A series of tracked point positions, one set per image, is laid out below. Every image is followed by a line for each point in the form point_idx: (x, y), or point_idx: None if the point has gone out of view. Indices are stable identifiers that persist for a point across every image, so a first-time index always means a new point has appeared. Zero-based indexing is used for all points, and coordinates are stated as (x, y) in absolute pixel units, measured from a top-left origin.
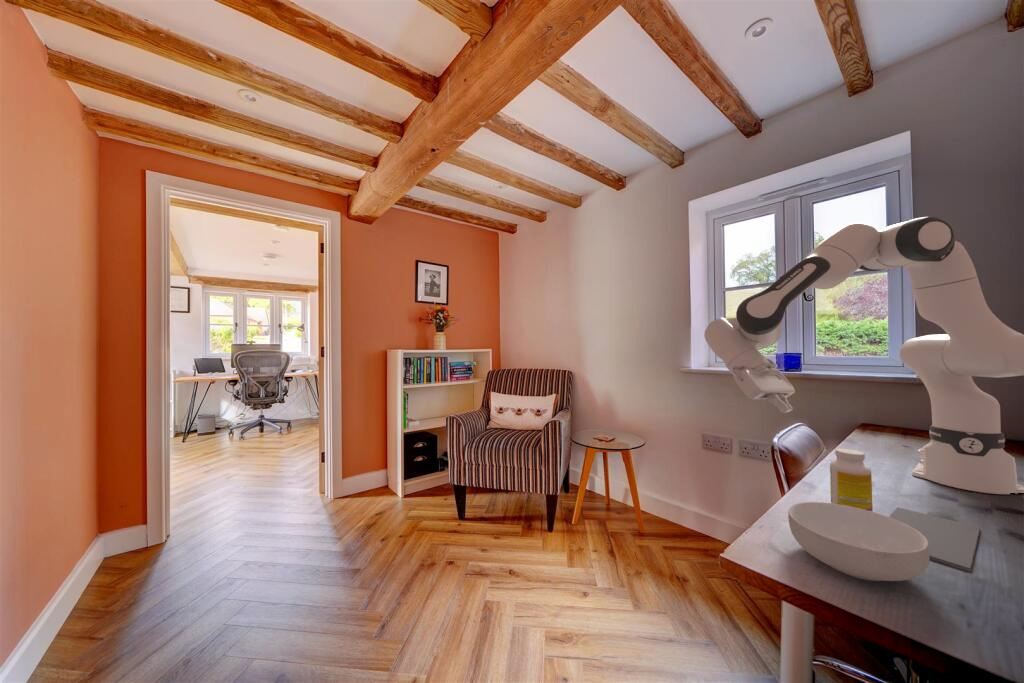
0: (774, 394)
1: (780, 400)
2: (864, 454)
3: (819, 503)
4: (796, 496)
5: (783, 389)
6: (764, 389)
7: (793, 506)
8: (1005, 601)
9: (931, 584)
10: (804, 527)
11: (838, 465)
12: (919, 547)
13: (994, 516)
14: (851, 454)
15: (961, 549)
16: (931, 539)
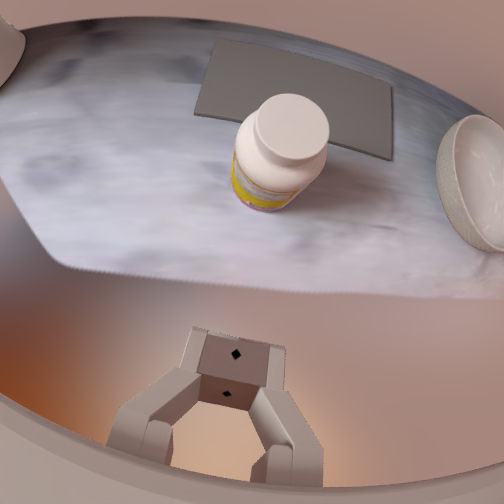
0: (320, 478)
1: (300, 416)
2: (293, 94)
3: (469, 215)
4: (254, 278)
5: (82, 462)
6: (491, 482)
7: (498, 247)
8: (425, 85)
9: (445, 130)
10: None
11: (319, 167)
12: (471, 124)
13: (128, 28)
14: (328, 123)
15: (338, 73)
16: (330, 93)
